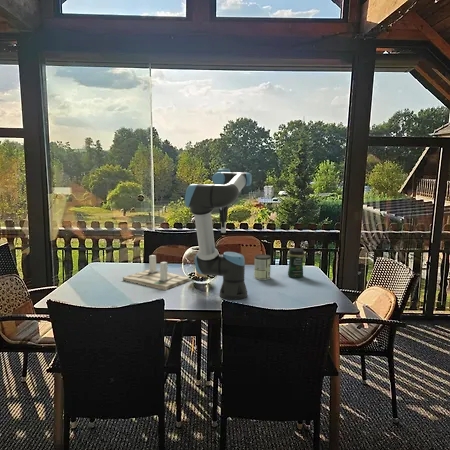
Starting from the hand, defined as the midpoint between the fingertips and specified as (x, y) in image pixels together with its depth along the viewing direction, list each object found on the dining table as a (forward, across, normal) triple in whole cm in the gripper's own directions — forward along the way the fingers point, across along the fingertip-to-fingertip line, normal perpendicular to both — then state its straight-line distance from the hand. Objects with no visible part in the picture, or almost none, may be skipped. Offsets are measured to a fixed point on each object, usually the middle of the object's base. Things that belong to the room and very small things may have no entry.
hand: (223, 232), depth 247 cm
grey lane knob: (+27, +8, -44) cm, 53 cm away
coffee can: (+30, -10, +23) cm, 39 cm away
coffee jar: (+30, -20, +43) cm, 56 cm away
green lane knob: (+27, +23, -30) cm, 46 cm away
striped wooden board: (+29, +17, -37) cm, 50 cm away
